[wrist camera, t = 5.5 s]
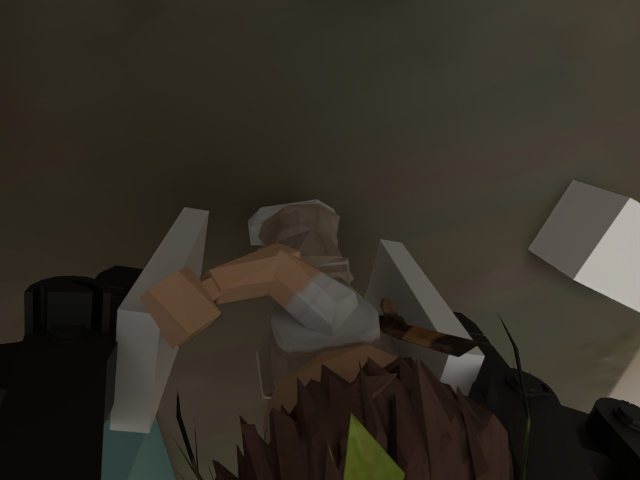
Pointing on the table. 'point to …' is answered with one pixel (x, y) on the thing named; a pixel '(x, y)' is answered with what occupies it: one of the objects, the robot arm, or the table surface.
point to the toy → (336, 367)
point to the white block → (595, 241)
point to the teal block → (135, 455)
